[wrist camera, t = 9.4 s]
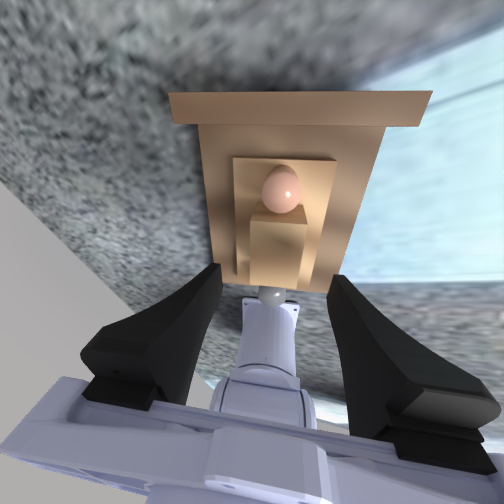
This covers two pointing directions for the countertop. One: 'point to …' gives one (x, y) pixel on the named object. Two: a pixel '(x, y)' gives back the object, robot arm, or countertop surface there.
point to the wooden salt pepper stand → (279, 221)
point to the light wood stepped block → (293, 154)
